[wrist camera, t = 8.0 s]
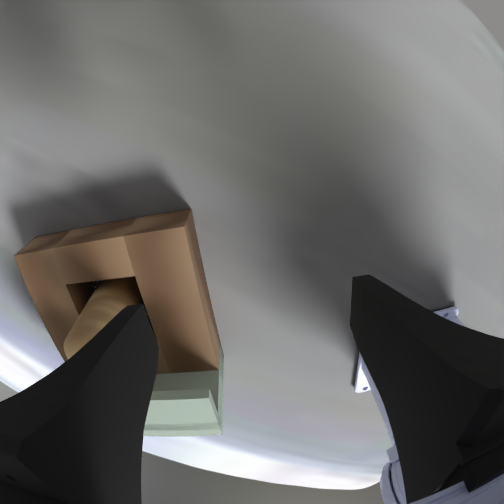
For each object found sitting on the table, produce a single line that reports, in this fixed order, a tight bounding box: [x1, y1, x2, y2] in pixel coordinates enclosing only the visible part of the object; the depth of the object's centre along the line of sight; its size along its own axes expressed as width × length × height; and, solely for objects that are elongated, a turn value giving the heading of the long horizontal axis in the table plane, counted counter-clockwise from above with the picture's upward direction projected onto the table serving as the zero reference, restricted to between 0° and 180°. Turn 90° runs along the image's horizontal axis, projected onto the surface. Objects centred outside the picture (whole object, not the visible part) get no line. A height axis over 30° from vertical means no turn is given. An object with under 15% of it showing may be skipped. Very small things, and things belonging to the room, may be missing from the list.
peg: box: [64, 276, 145, 359], centre depth 18 cm, size 4×4×7 cm
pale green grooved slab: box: [143, 344, 224, 436], centre depth 20 cm, size 12×4×8 cm, turn 97°
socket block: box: [14, 209, 224, 374], centre depth 21 cm, size 12×12×3 cm
